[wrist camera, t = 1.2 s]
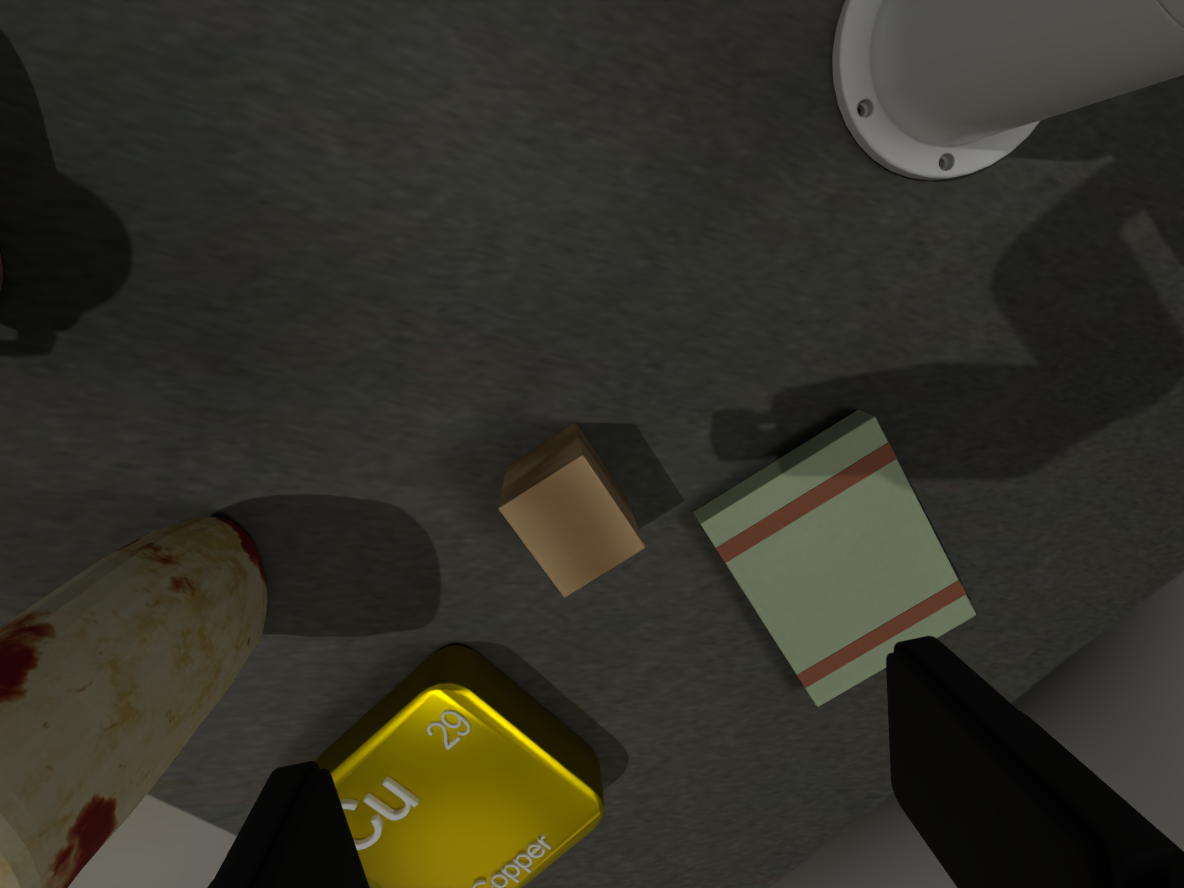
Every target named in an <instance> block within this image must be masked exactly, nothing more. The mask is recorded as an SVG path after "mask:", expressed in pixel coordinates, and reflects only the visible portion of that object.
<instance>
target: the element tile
mask: <svg viewBox="0 0 1184 888" xmlns="http://www.w3.org/2000/svg"><path fill="white" fill-rule="evenodd" d="M315 762H316V763H317V764H318V766H319V768H320V769H324V768H325V769H328V770H329V771H330V773H331V775H332V778H333V781H334V784H335V787H336V790H337V793H338V796H339V799H340V802H341V805H342V808H343V811H344V814H345V816H346V819H347V822H348V825H349V828H350V831H351V834H352V837H353V840H354V843H355V846H356V849H357V852H358V855H359V858H360V860H361V863H362V866H363V869H364V872H365V875H366V878H367V881H368V884H369V886H370V887H371V888H523V887H524V886H525V885H526V884H528V883H529V882H530V881H531V880H532V879H534V878H535V877H536V876H537V875H539V874H540V873H541V872H542V871H544V870H545V869H546V868H547V867H548V866H550V865H551V864H552V863H553V862H555V861H556V860H557V859H558V858H559V857H561V856H562V855H563V854H564V853H566V852H567V851H568V850H569V849H571V848H572V847H573V846H574V845H575V844H577V843H578V842H579V841H580V840H582V839H583V838H584V837H585V836H586V835H588V834H589V833H590V832H591V831H593V830H594V829H595V827H596V826H597V825H598V824H599V822H600V821H601V819H602V817H603V815H604V799H603V790H602V782H601V773H600V764H599V761H598V758H597V756H596V754H595V752H594V751H593V750H592V749H591V748H590V746H588V745H587V744H586V743H585V742H584V741H582V740H581V739H580V738H579V737H578V736H576V735H575V734H574V733H573V732H572V731H570V730H569V729H568V728H567V727H566V726H565V725H563V724H562V723H561V722H560V721H559V720H557V719H556V718H555V717H554V716H553V715H551V714H550V713H549V712H548V711H547V710H545V709H544V708H543V707H542V706H541V705H540V704H538V703H537V702H536V701H535V700H534V699H532V698H531V697H530V696H529V695H528V694H526V693H525V692H524V691H523V690H522V689H520V688H519V687H518V686H517V685H516V684H514V683H513V682H512V681H511V680H510V679H509V678H507V677H506V676H505V675H504V674H503V673H501V672H500V671H499V670H498V669H497V668H495V667H494V666H493V665H492V664H491V663H489V662H488V661H487V660H486V659H485V658H483V657H482V656H481V655H480V654H479V653H478V652H476V651H474V650H472V649H470V648H467V647H464V646H461V645H451V646H447V647H445V648H442V649H439V650H438V651H436V652H435V653H433V654H432V655H430V656H429V657H428V658H427V659H426V660H425V661H424V662H423V663H422V664H421V665H419V666H418V667H417V668H416V669H415V670H414V671H413V672H412V673H411V674H409V675H408V676H407V677H406V678H405V679H404V680H403V681H402V682H401V683H400V684H398V685H397V686H396V687H395V688H394V689H393V690H392V691H391V692H390V693H388V694H387V695H386V696H385V697H384V698H383V699H382V700H381V701H380V702H378V703H377V704H376V705H375V706H374V707H373V708H372V709H371V710H370V711H369V712H367V713H366V714H365V715H364V716H363V717H362V718H361V719H360V720H359V721H357V722H356V723H355V724H354V725H353V726H352V727H351V728H350V729H349V730H348V731H346V732H345V733H344V734H343V735H342V736H341V737H340V738H339V739H338V740H336V741H335V742H334V743H333V744H332V745H331V746H330V747H329V748H328V749H327V750H325V751H324V752H323V753H322V754H321V755H320V756H319V757H318V759H317V760H316V761H315Z"/></svg>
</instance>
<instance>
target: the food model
mask: <svg viewBox="0 0 1184 888" xmlns="http://www.w3.org/2000/svg"><path fill="white" fill-rule="evenodd" d="M267 600H268V599H267V581H266V575H265V572H264V568H263V564H262V561H261V558H260V556H259V553H258V550H257V548H256V545H255V543H254V541H253V540H252V539H251V538H250V536H249V535H248V534H247V533H246V532H245V530H244V529H243V528H242V527H240V526H239V525H237V524H235V523H234V522H232V521H231V520H228V519H223V518H219V517H205V516H201V517H195V518H191V519H188V520H184V521H181V522H178V523H175V524H173V525H170V526H167V527H164V528H161V529H159V530H156V531H153V532H151V533H149V534H147V535H145V536H143V537H141V538H139V539H137V540H135V541H133V542H132V543H130V544H128V545H126V546H124V547H122V548H121V549H119V550H117V551H115V552H114V553H112V554H110V555H109V556H107V557H105V558H103V559H102V560H100V561H98V562H97V563H95V564H94V565H92V566H90V567H89V568H87V569H86V570H84V571H83V572H81V573H79V574H78V575H76V576H75V577H73V578H72V579H70V580H69V581H67V582H66V583H64V584H63V585H61V586H60V587H58V588H57V589H55V590H54V591H53V592H51V593H50V594H48V595H47V596H45V597H44V598H42V599H41V600H39V601H38V602H36V603H35V604H33V605H32V606H30V607H29V608H28V609H26V610H25V611H23V612H22V613H20V614H19V615H17V616H16V617H15V618H13V619H12V620H10V621H9V622H7V623H6V624H5V625H3V626H2V627H0V888H68V886H69V885H70V884H71V882H72V881H73V880H74V878H75V877H76V876H77V875H78V873H79V872H80V871H81V869H82V868H83V867H84V866H85V865H86V864H87V862H88V861H89V860H90V859H91V858H92V857H93V856H94V854H95V853H96V852H97V851H98V850H99V849H100V847H102V845H103V844H104V843H105V842H106V841H107V840H108V839H109V838H110V836H111V835H112V834H113V833H114V832H115V831H116V829H118V827H119V826H120V825H121V824H122V823H123V822H124V821H125V819H126V818H127V817H128V816H129V815H130V814H131V813H132V811H133V810H134V809H135V808H136V806H137V805H138V804H139V803H140V802H141V801H142V799H143V798H144V797H145V796H146V795H147V793H148V792H149V791H150V790H151V788H152V787H153V786H154V785H155V783H156V782H157V781H158V780H159V778H160V777H161V776H162V775H163V773H164V772H165V771H166V770H167V768H168V767H169V766H170V764H171V763H172V762H173V760H174V759H175V757H176V756H177V755H178V753H179V752H180V751H181V749H182V748H183V746H184V745H185V744H186V742H187V741H188V740H189V738H190V737H191V736H192V735H193V733H194V732H195V731H196V729H197V728H198V727H199V725H200V724H201V723H202V721H203V720H204V719H205V718H206V717H207V715H208V714H209V713H210V712H211V710H212V709H213V708H214V707H215V705H216V704H217V703H218V702H219V700H220V699H221V698H222V696H223V695H224V694H225V692H226V691H227V690H228V688H229V687H230V685H231V684H232V682H233V681H234V679H235V678H236V676H237V675H238V673H239V671H240V670H241V668H242V666H243V665H244V663H245V662H246V660H247V658H248V657H249V656H250V654H251V653H252V651H253V650H254V649H255V647H256V646H257V645H258V643H259V641H260V639H261V636H262V632H263V628H264V623H265V618H266V611H267Z"/></svg>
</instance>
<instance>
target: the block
mask: <svg viewBox="0 0 1184 888" xmlns="http://www.w3.org/2000/svg"><path fill="white" fill-rule="evenodd" d="M499 510H500V512H501V513H502V514H503V516H504V517H505V518H506V520H507V521H508V522H509V524H510V525H511V526H512V528H513V529H514V531H515V532H516V533H517V535H518V536H519V537H520V539H521V540H522V541H523V543H524V544H525V545H526V547H527V548H528V549H529V551H530V552H531V553H532V555H533V556H534V557H535V559H536V560H537V561H538V563H539V564H540V565H541V567H542V568H543V569H544V571H545V572H546V573H547V575H548V576H549V577H550V579H551V580H552V581H553V583H554V584H555V586H556V587H557V588H558V590H559V591H560V592H561V594H562V595H563V596H564V597H567V596H568V595H570V594H571V593H573V592H575V591H576V590H578V589H579V588H581V587H583V586H584V585H586V584H588V583H589V582H591V581H592V580H594V579H596V578H597V577H599V576H600V575H602V574H604V573H605V572H607V571H609V570H610V569H612V568H613V567H615V566H617V565H618V564H620V563H621V562H623V561H625V560H626V559H628V558H630V557H631V556H633V555H634V554H636V553H638V552H639V551H641V550H642V549H644V548H645V544H644V542H643V539H642V537H641V534H640V531H639V529H638V526H637V524H636V521H635V518H634V516H633V513H632V511H631V508H630V505H629V503H628V500H627V498H626V497H625V495H624V494H623V493H622V491H621V490H620V488H619V487H618V485H617V484H616V482H615V481H614V479H613V478H612V476H611V475H610V473H609V472H608V470H607V469H606V467H605V466H604V464H603V463H602V461H601V460H600V458H599V457H598V455H597V454H596V452H595V451H594V449H593V448H592V446H591V445H590V443H589V442H588V440H587V439H586V437H585V436H584V434H583V433H582V431H581V430H580V428H579V427H578V425H577V424H576V423H573V424H572V425H570V426H569V427H567V428H566V429H564V430H563V431H561V432H560V433H558V434H556V435H555V436H553V437H552V438H550V439H549V440H547V441H546V442H544V443H542V444H541V445H539V446H538V447H536V448H535V449H533V450H532V451H530V452H528V453H527V454H525V455H524V456H522V457H521V458H519V459H518V460H516V461H515V462H513V463H511V464H510V465H508V466H507V467H506V472H505V477H504V482H503V488H502V493H501V498H500V503H499Z"/></svg>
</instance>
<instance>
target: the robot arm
mask: <svg viewBox="0 0 1184 888" xmlns="http://www.w3.org/2000/svg"><path fill="white" fill-rule="evenodd" d="M832 63H833V83H834V88H835V93H836V98H837V103H838V106H839V109H840V111H841V114H842V116H843V119H844V121H845V124H846V126H847V128H848V130H849V131H850V133H851V134H852V136H853V137H854V139H855V140H856V142H857V143H858V145H859V146H860V147H861V148H862V149H863V150H864V151H865V152H866V153H867V154H868V155H869V156H870V157H871V158H872V159H873V160H874V161H876V162H877V163H879V164H880V165H882V166H883V167H885V168H887V169H888V170H890V171H892V172H894V173H897V174H900V175H903V176H906V177H908V178H914V179H922V180H941V179H951V178H955V177H958V176H962V175H967V174H971V173H973V172H976V171H978V170H980V169H983V168H985V167H988V166H990V165H992V164H994V163H995V162H997V161H998V160H1000V159H1001V158H1003V157H1004V156H1006V155H1008V154H1009V153H1011V152H1012V151H1013V150H1014V149H1015V148H1016V147H1017V146H1018V145H1019V144H1020V143H1022V142H1023V141H1024V140H1025V139H1026V138H1027V137H1028V136H1029V135H1030V134H1031V132H1032V131H1033V130H1034V129H1035V127H1036V126H1037V125H1038V123H1039V122H1040V121H1041V120H1043V119H1047V118H1050V117H1053V116H1056V115H1059V114H1062V113H1066V112H1069V111H1072V110H1075V109H1078V108H1081V107H1084V106H1088V105H1091V104H1094V103H1097V102H1100V101H1103V100H1106V99H1110V98H1113V97H1116V96H1119V95H1122V94H1125V93H1129V92H1132V91H1135V90H1138V89H1141V88H1144V87H1147V86H1151V85H1154V84H1157V83H1160V82H1163V81H1166V80H1169V79H1173V78H1176V77H1179V76H1182V75H1184V0H845V2H844V4H843V7H842V11H841V14H840V17H839V21H838V24H837V27H836V32H835V39H834V47H833V54H832ZM857 108H859V109H860V111H861V114H860V115H859V114H858V111H857ZM939 162H940V166H939ZM886 672H887V695H888V719H889V742H890V766H891V783H892V788H893V791H894V794H895V796H896V798H897V801H898V803H899V804H900V806H901V808H902V809H903V810H904V812H905V813H906V815H907V816H908V818H909V819H910V821H911V822H912V823H913V825H914V826H915V828H916V829H917V830H918V832H919V833H920V835H921V836H922V838H923V839H924V840H925V842H926V843H927V845H928V846H929V848H930V849H931V851H932V852H933V853H934V855H935V856H936V858H937V859H938V861H939V862H940V863H941V865H942V866H943V868H944V869H945V870H946V872H947V873H948V875H949V876H950V878H951V879H952V880H953V882H954V883H955V885H956V886H957V887H958V888H1184V852H1183V851H1182V850H1181V849H1180V848H1179V847H1178V846H1176V845H1175V844H1174V843H1173V842H1172V841H1171V840H1170V839H1168V838H1167V837H1166V836H1165V835H1164V834H1163V833H1162V832H1160V831H1159V830H1158V829H1157V828H1156V827H1155V826H1153V825H1152V824H1151V823H1150V822H1149V821H1148V820H1147V819H1146V818H1144V817H1143V816H1142V815H1141V814H1140V813H1139V812H1137V811H1136V810H1135V809H1134V808H1133V807H1132V806H1131V805H1130V804H1128V803H1127V802H1126V801H1125V800H1124V799H1123V798H1122V797H1120V796H1119V795H1118V794H1117V793H1116V792H1115V791H1114V790H1112V789H1111V788H1110V787H1109V786H1108V785H1107V784H1106V783H1104V782H1103V781H1102V780H1101V779H1100V778H1099V777H1097V776H1096V775H1095V774H1094V773H1093V772H1092V771H1091V770H1090V769H1088V768H1087V767H1086V766H1085V765H1084V764H1082V763H1081V762H1080V761H1079V760H1078V759H1077V758H1076V757H1075V756H1073V755H1072V754H1071V753H1070V752H1069V751H1067V749H1065V748H1064V747H1063V746H1062V745H1061V744H1060V743H1059V742H1057V741H1056V740H1055V739H1054V738H1053V737H1052V736H1051V735H1049V734H1048V733H1047V732H1046V731H1045V730H1044V729H1043V728H1041V727H1040V726H1039V725H1038V724H1037V723H1036V722H1035V721H1033V720H1032V719H1031V718H1030V717H1028V716H1027V715H1025V714H1024V713H1023V712H1021V711H1019V710H1018V709H1016V708H1015V707H1014V706H1013V705H1012V704H1011V703H1010V702H1008V701H1007V700H1006V699H1005V698H1004V697H1003V696H1002V695H1000V694H999V693H998V692H997V691H996V690H995V689H994V688H993V687H991V686H990V685H989V684H988V683H987V682H986V681H985V680H983V679H982V678H981V677H980V676H979V675H978V674H977V673H975V672H974V671H973V670H972V669H971V668H970V667H969V666H968V665H966V664H965V663H964V662H963V661H962V660H961V659H960V658H958V657H957V656H956V655H955V654H954V653H953V652H952V651H950V650H949V649H948V648H947V647H946V646H945V645H944V644H943V643H941V642H940V641H939V640H938V639H936V638H935V637H933V636H925V637H920V638H915V639H910V640H905V641H901V642H898V643H896V644H895V646H894V652H893V653H889V654H888V655H887V657H886ZM208 888H370V887H369V884H368V881H367V878H366V875H365V872H364V869H363V866H362V863H361V860H360V858H359V855H358V852H357V849H356V846H355V843H354V840H353V837H352V834H351V831H350V828H349V825H348V822H347V819H346V816H345V814H344V811H343V808H342V805H341V802H340V799H339V796H338V793H337V790H336V787H335V784H334V781H333V778H332V775H331V773H330V771H329V770H328V769H325V768H324V769H320V768H319V766H318V764H317V763H316V762H314V761H310V762H305V763H300V764H295V765H290V766H285V767H280V768H277V769H275V770H274V771H273V772H272V774H271V775H270V777H269V778H268V780H267V782H266V784H265V786H264V788H263V790H262V791H261V793H260V795H259V797H258V799H257V801H256V802H255V804H254V806H253V808H252V810H251V812H250V814H249V815H248V817H247V819H246V821H245V823H244V825H243V826H242V828H241V830H240V832H239V834H238V836H237V838H236V839H235V841H234V843H233V845H232V847H231V849H230V850H229V852H228V854H227V856H226V858H225V860H224V862H223V863H222V865H221V867H220V869H219V871H218V873H217V874H216V876H215V878H214V880H213V881H212V882H211V883H210V885H209V886H208Z"/></svg>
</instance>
